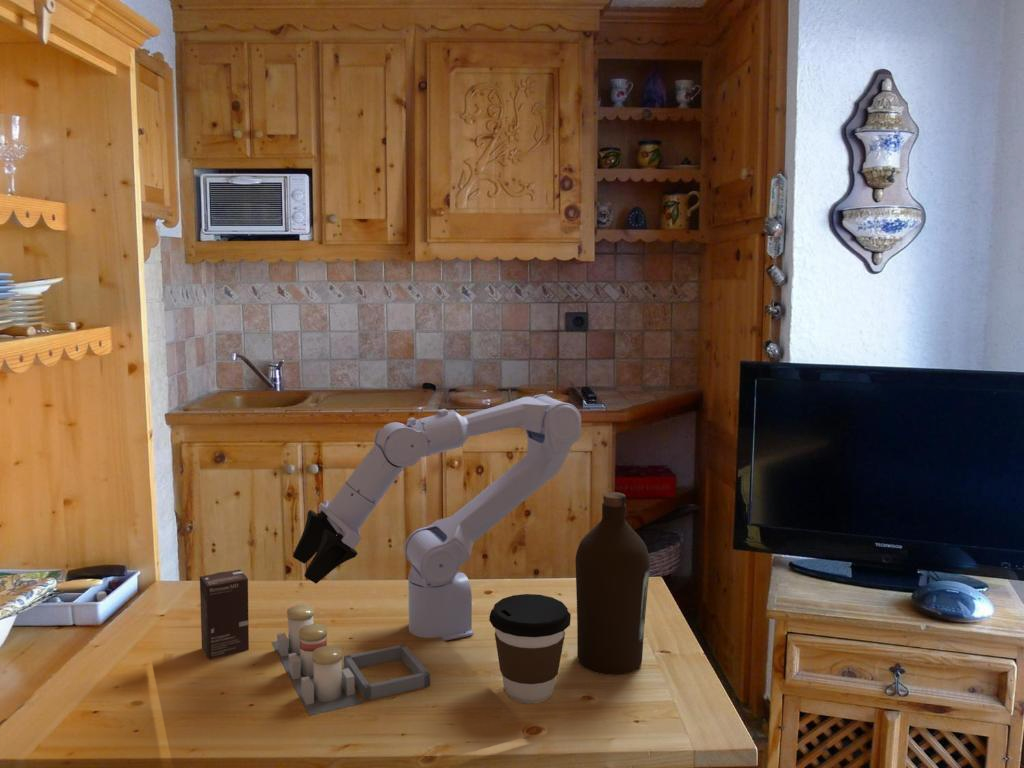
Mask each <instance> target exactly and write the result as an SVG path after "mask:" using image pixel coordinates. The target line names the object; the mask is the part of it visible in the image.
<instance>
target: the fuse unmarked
mask: <svg viewBox="0 0 1024 768" xmlns="http://www.w3.org/2000/svg"><path fill="white" fill-rule="evenodd" d="M312 658H313V667H314V698H315V699H316V700H318V701H321V702H330V701H334V700H337V699H339V698H340V697H341V696H342V659H343V649H342V648H340V647H339V646H335V645H334V646H333V645H327V646H322V647H319V648H317V649H315V650H314V651H313V653H312Z"/></svg>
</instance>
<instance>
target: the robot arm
mask: <svg viewBox="0 0 1024 768" xmlns="http://www.w3.org/2000/svg"><path fill="white" fill-rule="evenodd" d="M436 412H437V414H435V415H429V416H426V417H422V418H418V419H416V418H415V417H409V418H407V421H406V424H404V423H400V421H399V422H397V421H396V422H395V421H394V422H389V423H387V424H385V425H384V426H383V428H377V430H376V432H375V435H374V439H373V441H374V442H373V446H371V447H372V448H370V450H369V451H368V452H367V454H366V455H365V456H364V457H363V459H362V460H361V461H360V462H359V464H358V465H357V467H356V468H355V469H354V471H353V472H352V473H351V474H350V476H349V477H348V478H347V480H346V481H345V482H344V484H343V485H342V486H341V488H340V489H339V491H337V493H336V495H334V497H333V499H331V501H328V500H327V499H325V500H324V501H323V502H320V503H319V504H318V509H317V510H318V513H317V512H315V511H314V510H312V509H309V510H308V512H307V517H306V523H305V525H304V529H303V532H302V535H301V536H300V539H299V541H298V543H297V545H296V547H295V549H294V551H293V555H292V557H293V558H294V559H296V560H297V561H299V562H300V563H302V564H304V565H305V564H306V563H307V562H308V561H310V560H311V559H312V560H311V561H310V563H309V565H308V566H307V568H306V570H305V572H304V575H303V576H304V577H305V578H306V579H307V580H310V581H311V582H312V583H314V584H316V585H317V584H318V583H319V582H320V581H322V580H323V579H324V578H325V577H326V576H328V575H329V574H330V573H331V572H333V571H334V570H335V569H336V568H338V567H339V566H340V565H343V563H346V562H347V561H350V560H352V559H354V558H356V557H357V555H358V552H357V550H356V549H355V548H356V547H357V546H358V544H359V543H360V542H361V540H362V539H363V538H362V536H361V534H360V531H361V530H360V528H361V527H362V525H363V524H364V523H365V522H366V520H367V519H368V518H369V517H370V515H371V514H372V512H373V511H374V509H376V507H377V505H379V503H380V502H381V501H382V499H383V498H384V497H385V496H386V493H388V490H389V489H390V488H391V487H392V485H393V484H394V483H395V481H396V480H397V478H398V477H399V476H400V474H401V473H402V472H403V471H404V469H405V468H406V467H413V466H415V465H416V464H417V463H418V462H419V461H420V460H421V458H425V457H428V456H432V455H436V454H437V455H438V454H439V453H443V452H447V451H452V450H456V449H457V448H462V447H463V446H464V445H465V444H466V442H467V440H468V439H469V438H470V437H475V436H478V435H479V436H480V435H484V434H489V433H493V432H498V431H503V430H506V429H507V430H508V429H511V428H521V429H524V430H525V433H526V438H527V445H526V446H527V449H526V454H525V456H523V457H522V458H521V459H520V460H518V462H516V463H515V464H514V465H513V466H511V467H510V468H509V469H508V470H506V471H505V472H504V473H503V474H502V475H500V476H499V477H498V478H496V480H494V481H493V482H492V483H491V484H489V485H488V486H486V488H484V489H483V490H482V491H480V493H478V494H476V496H475V497H474V498H472V499H471V500H469V501H468V502H467V503H465V505H463V507H461V508H460V509H459V510H457V511H456V512H455V513H454V514H452V515H451V516H448V517H445V518H440V519H437V520H435V521H434V522H433V523H431V524H430V525H427V526H426V527H425V526H424V527H421V528H418V529H415V530H414V531H413V532H411V533H410V534H409V536H408V537H407V538H406V540H405V542H404V547H403V548H404V555H405V558H406V559H407V561H408V562H409V563H410V565H411V567H410V570H409V573H408V577H407V578H408V583H407V585H408V587H407V588H408V589H407V590H408V632H409V633H410V634H412V635H413V636H416V637H419V638H423V639H437V638H441V639H442V640H443V641H445V642H447V641H449V640H455V639H459V638H464V637H470V636H473V635H474V630H472V628H473V626H472V625H473V624H472V621H473V620H472V619H473V618H472V617H473V616H472V615H473V614H472V612H473V611H472V609H473V608H472V607H473V605H472V604H473V603H472V602H473V601H472V600H473V597H472V596H473V594H472V587H471V583H470V581H469V578H468V576H467V575H466V574H465V573H464V572H459V570H460V568H461V567H462V566H463V564H464V563H465V562H466V561H468V559H469V558H470V556H471V554H472V548H473V545H474V543H475V542H476V541H477V540H479V539H480V538H481V537H482V536H483V535H485V534H486V533H487V532H488V531H490V530H491V529H492V528H493V527H494V526H496V525H497V524H498V523H499V522H500V521H501V520H503V519H504V518H505V517H507V516H509V514H510V513H511V512H512V511H514V510H515V509H516V508H517V507H518V506H520V505H521V504H522V503H523V502H525V501H526V500H527V499H528V498H529V497H530V496H532V495H533V494H535V492H536V491H538V490H539V489H541V487H543V486H544V485H545V484H546V483H548V481H550V480H551V479H552V478H553V477H554V476H556V475H557V474H558V473H559V472H560V470H561V468H562V466H564V465H563V464H564V462H565V461H566V459H567V457H568V455H569V453H570V451H571V449H572V446H573V445H574V444H575V443H577V442H578V441H579V440H580V439H581V435H582V416H581V413H580V411H579V409H578V408H577V407H576V406H575V405H574V404H571V403H569V402H563V401H560V400H558V399H556V398H553V397H551V396H549V395H548V394H541V393H540V394H536V395H534V396H523V397H520V398H517V399H514V400H512V401H509V402H505V403H502V404H499V405H495V406H493V407H489V408H486V409H482V410H479V411H475V412H471V413H469V414H466V415H465V414H464V415H463V416H462V415H461V414H460V413H458V412H457V411H454V410H450V411H449V410H448V409H446V408H442V409H438V410H437V411H436Z"/></svg>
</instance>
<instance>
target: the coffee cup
mask: <svg viewBox="0 0 1024 768" xmlns="http://www.w3.org/2000/svg"><path fill="white" fill-rule="evenodd" d="M571 615H572V613H570V612H569V608H568V607H567V605H565V604H564V603H563V602H562V601H561V600H559V599H556V598H555V597H552V596H549V595H548V596H547V595H543V594H531V593H524V594H515V595H509V596H507V597H504V598H502V599H500V600H499V601H497V602H496V603H494V605H493V607H492V609H491V611H490V614H489V619H488V620H489V622H490V623H491V626H492V627H493V628H494V629H495V631H494V638H495V645H496V652H497V657H498V658H497V659H498V665H499V671H500V672H501V675H502V681H503V682H502V683H503V688H504V690H505V692H506V694H507V695H508V698H510V699H512V700H513V701H515V702H518V703H520V704H530V705H531V704H539V703H542V702H544V701H547V700H548V699H549V698H550V697H551V696H552V694H553V692H554V689H555V683H556V678H557V676H558V674H559V669H560V664H561V663H560V662H561V659H562V658H561V657H562V654H563V653H562V652H563V646H564V642H565V641H564V640H565V635H566V631H565V630H566V629H568V627H570V626H571V620H572V619H571Z"/></svg>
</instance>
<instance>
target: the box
mask: <svg viewBox="0 0 1024 768" xmlns="http://www.w3.org/2000/svg"><path fill="white" fill-rule="evenodd" d="M199 591H200V593H199V595H200V626H201V627H200V629H201V630H200V631H201V650H202V652H203V653H204V655H205V656H206V657H207V660H208V661H209V660H213V659H218V658H221V657H226V656H230V655H233V654H237V653H242V652H246V651H249V650H250V649H249V648H250V645H249V643H250V641H249V639H250V636H249V632H250V631H249V628H250V627H249V578H248V577H247V575H246V574H245V573H244V572H243V571H242V570H241V568H240V569H236V570H235V569H233V570H229V571H221V572H215V573H212V574H207V575H202V576H199Z"/></svg>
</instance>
